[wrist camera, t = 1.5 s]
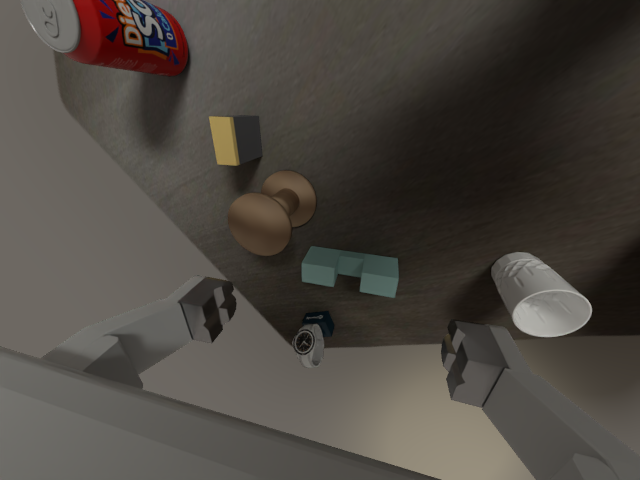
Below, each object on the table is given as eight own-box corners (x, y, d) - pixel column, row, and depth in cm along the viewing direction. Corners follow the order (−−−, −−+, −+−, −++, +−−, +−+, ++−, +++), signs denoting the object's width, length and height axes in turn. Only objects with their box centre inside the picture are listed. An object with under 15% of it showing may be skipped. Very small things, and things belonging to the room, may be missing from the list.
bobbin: (260, 168, 41) (218, 187, 31) (317, 172, 39) (291, 194, 29) (266, 221, 46) (230, 253, 36) (316, 227, 44) (294, 263, 34)
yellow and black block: (241, 115, 38) (208, 116, 31) (258, 115, 37) (229, 117, 31) (246, 155, 41) (217, 164, 34) (262, 156, 40) (236, 165, 33)
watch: (325, 304, 52) (311, 346, 43) (336, 331, 55) (326, 376, 46) (302, 306, 54) (284, 347, 45) (315, 332, 57) (300, 375, 48)
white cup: (491, 293, 41) (518, 340, 33) (481, 256, 39) (507, 297, 30) (548, 283, 38) (594, 332, 30) (541, 241, 36) (589, 283, 27)
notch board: (311, 245, 46) (301, 262, 41) (397, 258, 43) (398, 278, 38) (311, 263, 48) (302, 281, 43) (394, 276, 45) (394, 297, 40)
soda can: (145, 63, 38) (21, 40, 25) (146, -1, 34) (-3, -67, 21) (189, 86, 38) (87, 74, 25) (195, 25, 34) (77, -27, 21)
